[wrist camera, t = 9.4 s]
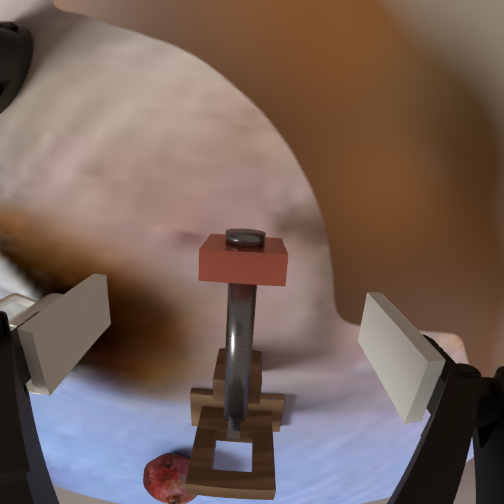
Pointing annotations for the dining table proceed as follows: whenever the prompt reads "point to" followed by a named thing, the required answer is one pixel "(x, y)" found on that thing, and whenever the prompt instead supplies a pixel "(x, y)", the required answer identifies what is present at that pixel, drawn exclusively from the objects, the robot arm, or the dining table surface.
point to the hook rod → (241, 303)
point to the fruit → (168, 479)
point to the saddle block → (254, 378)
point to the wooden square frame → (251, 431)
